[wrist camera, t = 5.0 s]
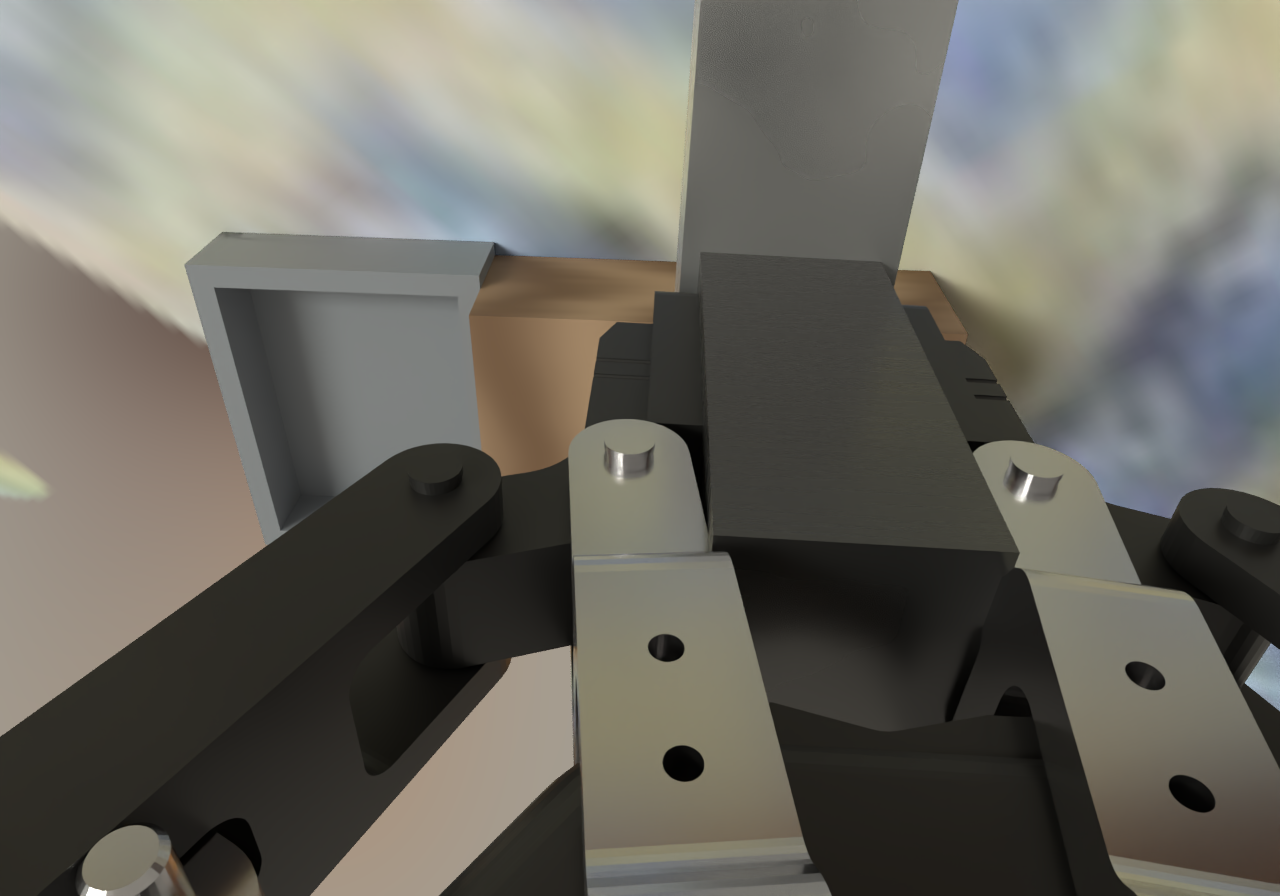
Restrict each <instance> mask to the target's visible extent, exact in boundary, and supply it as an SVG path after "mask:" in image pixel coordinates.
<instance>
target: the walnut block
mask: <svg viewBox="0 0 1280 896" xmlns="http://www.w3.org/2000/svg"><path fill="white" fill-rule="evenodd" d="M676 264H677V262H665V261H638V260H611V259H584V258H557V257H530V256H503V255H495V256H494V259H493V261H492V263H491V266H490V268H489V270H488V272H487V275H486V277H485V279H484V282H483V284H482V286H481V288H480V291H479V293H478V295H477V298H476V300H475V302H474V305H473V307H472V309H471V311H470V314H469V323H470V334H471V344H472V355H473V366H474V376H475V387H476V397H477V408H478V418H479V429H480V439H481V450H482V451H483V452H485V453H486V454H488V455H489V456H490V457H492V458H493V459H494V460H495V462H496V463H497V465H498V466H499V468H500V472H501V476H507V475H513V474H520V473H526V472H531V471H536V470H540V469H544V468H547V467H550V466H552V465H554V464H557V463H559V462H561V461H562V460H564V459H566V458H567V457H568V452H569V446H570V444H571V441H572V440H573V439H574V437H575V436H576V435H577V434H579V433H580V432H581V431H582V430H584V429H585V424H586V417H587V411H588V405H589V399H590V393H591V387H592V381H593V377H594V369H595V363H596V357H597V350H598V344H599V338H600V337H601V336H602V335H603V334H604V333H605V332H607V331H608V330H609V329H610V328H611V327H612V326H613V325H614V324H615V323H616V322H627V323H645V324H653V311H654V294H655V291H665V292H675V279H676ZM894 289H895V292H896V294H897V296H898V298H899V300H900V302H901V304H902V305H916V306H926V307H927V308H928V309H929V311H930V313H931V315H932V317H933V318H934V320H935V322H936V324H937V326H938V328H939V330H940V332H941V334H942V335H943V337H944V339H945V340H949V341H961V342H962V343H963V344H966V340H967V336H968V334H967V332H966V330H965V329H964V327H963V325H962V324H961V322H960V320H959V319H958V317H957V315H956V314H955V312H954V310H953V309H952V307H951V305H950V304H949V302H948V300H947V299H946V297H945V295H944V294H943V292H942V290H941V289H940V287H939V285H938V284H937V282H936V280H935V279H934V277H933V275H932V274H931V272H930V271H908V270H898V271H897V276H896V280H895V285H894Z"/></svg>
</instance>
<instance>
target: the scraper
mask: <svg viewBox="0 0 1280 896" xmlns="http://www.w3.org/2000/svg"><path fill="white" fill-rule="evenodd" d="M957 5H958V0H695V5H694V20H693V34H692V48H691V63H690V77H689V92H688V106H687V120H686V135H685V149H684V164H683V178H682V192H681V207H680V221H679V236H678V250H677V264H676V279H675V292H683V293H698V298H699V325H700V352H701V379H702V406H703V433H702V443H701V453H700V463H699V473H698V483H697V487H698V491H699V496H700V500H701V504H702V509H703V513H704V517H705V522H706V526H707V530H708V534H709V551H726V552H728V554H729V556H730V558H731V560H732V564H733V567H734V571H735V575H736V578H737V582H738V586H739V590H740V594H741V598H742V602H743V606H744V610H745V614H746V617H747V621H748V625H749V629H750V633H751V637H752V641H753V645H754V649H755V652H756V656H757V660H758V664H759V668H760V672H761V676H762V680H763V684H764V688H765V691H766V695H767V699H768V702H773V703H777V704H780V705H784V706H788V707H792V708H795V709H799V710H803V711H806V712H810V713H814V714H818V715H821V716H825V717H829V718H832V719H836V720H840V721H843V722H847V723H851V724H855V725H858V726H862V727H866V728H869V729H873V730H878V731H887V732H890V731H899V730H905V729H910V728H916V727H922V726H927V725H933V724H939V723H945V722H950V721H952V720H953V718H954V715H955V713H956V710H957V708H958V705H959V702H960V700H961V697H962V695H963V692H964V689H965V687H966V684H967V682H968V679H969V676H970V674H971V671H972V669H973V666H974V663H975V661H976V658H977V656H978V653H979V649H980V645H981V639H982V631H983V625H984V622H985V620H986V617H987V614H988V612H989V609H990V607H991V604H992V601H993V599H994V596H995V593H996V591H997V588H998V585H999V583H1000V580H1001V578H1002V576H1005V575H1007V574H1008V573H1009V572H1010V571H1011V570H1012V569H1014V567H1015V564H1016V562H1017V559H1018V557H1019V554H1020V552H1019V550H1018V547H1017V545H1016V543H1015V541H1014V539H1013V537H1012V535H1011V533H1010V531H1009V529H1008V526H1007V524H1006V522H1005V520H1004V518H1003V516H1002V514H1001V512H1000V510H999V508H998V506H997V503H996V501H995V499H994V497H993V495H992V493H991V491H990V489H989V487H988V485H987V482H986V480H985V478H984V476H983V474H982V472H981V470H980V468H979V466H978V464H977V461H976V459H975V457H974V455H973V453H972V451H971V449H970V447H969V445H968V443H967V440H966V438H965V436H964V434H963V432H962V430H961V428H960V426H959V424H958V422H957V420H956V417H955V415H954V413H953V411H952V409H951V407H950V405H949V403H948V401H947V399H946V396H945V394H944V392H943V390H942V388H941V386H940V384H939V382H938V380H937V378H936V375H935V373H934V371H933V369H932V367H931V365H930V363H929V361H928V359H927V357H926V354H925V352H924V350H923V348H922V346H921V344H920V342H919V340H918V338H917V336H916V333H915V331H914V329H913V327H912V325H911V323H910V321H909V319H908V317H907V315H906V313H905V310H904V308H903V306H902V304H901V302H900V300H899V298H898V296H897V294H896V292H895V289H894V285H895V280H896V276H897V271H898V267H899V263H900V258H901V254H902V249H903V245H904V240H905V236H906V232H907V227H908V223H909V218H910V214H911V209H912V205H913V200H914V196H915V192H916V187H917V183H918V178H919V174H920V169H921V165H922V160H923V156H924V152H925V147H926V143H927V138H928V134H929V129H930V125H931V120H932V116H933V112H934V107H935V103H936V98H937V94H938V89H939V85H940V80H941V76H942V72H943V67H944V63H945V58H946V54H947V49H948V45H949V40H950V36H951V32H952V27H953V23H954V18H955V14H956V9H957Z"/></svg>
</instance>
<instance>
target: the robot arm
mask: <svg viewBox="0 0 1280 896" xmlns="http://www.w3.org/2000/svg"><path fill="white" fill-rule="evenodd" d="M902 306H903V308H904V310H905V313H906V315H907V317H908V319H909V321H910V323H911V325H912V327H913V329H914V331H915V333H916V336H917V338H918V340H919V342H920V344H921V346H922V348H923V350H924V352H925V354H926V357H927V359H928V361H929V363H930V365H931V367H932V369H933V371H934V373H935V375H936V378H937V380H938V382H939V384H940V386H941V388H942V390H943V392H944V394H945V396H946V399H947V401H948V403H949V405H950V407H951V409H952V411H953V413H954V415H955V417H956V420H957V422H958V424H959V426H960V428H961V430H962V432H963V434H964V436H965V438H966V440H967V443H968V445H969V447H970V449H971V451H972V453H973V455H974V457H975V459H976V461H977V464H978V466H979V468H980V470H981V472H982V474H983V476H984V478H985V480H986V482H987V485H988V487H989V489H990V491H991V493H992V495H993V497H994V499H995V501H996V503H997V506H998V508H999V510H1000V512H1001V514H1002V516H1003V518H1004V520H1005V522H1006V524H1007V526H1008V529H1009V531H1010V533H1011V535H1012V537H1013V539H1014V541H1015V543H1016V545H1017V547H1018V550H1019V552H1020V554H1019V557H1018V559H1017V562H1016V564H1015V567H1014V569H1012V570H1011V571H1010V572H1009V573H1008V574H1007V575H1005V576H1002V578H1001V580H1000V583H999V585H998V588H997V591H996V593H995V596H994V599H993V601H992V604H991V607H990V609H989V612H988V614H987V617H986V620H985V622H984V625H983V631H982V639H981V645H980V649H979V653H978V656H977V658H976V661H975V663H974V666H973V669H972V671H971V674H970V676H969V679H968V682H967V684H966V687H965V689H964V692H963V695H962V697H961V700H960V702H959V705H958V708H957V710H956V713H955V715H954V718H953V720H952V721H950V722H945V723H939V724H933V725H927V726H922V727H916V728H910V729H905V730H899V731H890V732H887V731H878V730H873V729H869V728H866V727H862V726H858V725H855V724H851V723H847V722H843V721H840V720H836V719H832V718H829V717H825V716H821V715H818V714H814V713H810V712H806V711H803V710H799V709H795V708H792V707H788V706H784V705H780V704H777V703H773V702H768V699H767V695H766V691H765V688H764V684H763V680H762V676H761V672H760V668H759V664H758V660H757V656H756V652H755V649H754V645H753V641H752V637H751V633H750V629H749V625H748V621H747V617H746V614H745V610H744V606H743V602H742V598H741V594H740V590H739V586H738V582H737V578H736V575H735V571H734V567H733V564H732V560H731V558H730V556H729V554H728V552H726V551H709V534H708V530H707V526H706V522H705V517H704V513H703V509H702V504H701V500H700V496H699V491H698V487H697V483H698V473H699V463H700V453H701V443H702V433H703V406H702V379H701V352H700V325H699V298H698V293H683V292H665V291H655V294H654V311H653V324H645V323H627V322H616V323H615V324H614V325H613V326H612V327H611V328H610V329H609V330H608V331H607V332H605V333H604V334H603V335H602V336H601V337H600V338H599V344H598V350H597V357H596V363H595V369H594V377H593V381H592V387H591V393H590V399H589V405H588V411H587V417H586V424H585V429H584V430H582V431H581V432H580V433H579V434H577V435H576V436H575V437H574V439H573V440H572V441H571V444H570V446H569V452H568V457H567V458H566V459H564V460H562V461H561V462H559V463H557V464H554V465H552V466H550V467H547V468H544V469H540V470H536V471H531V472H526V473H520V474H513V475H507V476H501V472H500V468H499V466H498V465H497V463H496V462H495V460H494V459H493V458H492V457H490V456H489V455H488V454H486V453H485V452H483V451H481V450H478V449H476V448H473V447H470V446H466V445H461V444H452V443H435V444H427V445H422V446H417V447H413V448H410V449H407V450H404V451H402V452H400V453H398V454H396V455H394V456H392V457H391V458H389V459H387V460H386V461H385V462H383V463H382V464H380V465H379V466H378V467H376V468H375V469H373V470H372V471H371V472H369V473H368V474H366V475H365V476H364V477H362V478H361V479H359V480H358V481H357V482H355V483H354V484H352V485H351V486H350V487H348V488H347V489H345V490H344V491H343V492H341V493H340V494H339V495H337V496H336V497H334V498H333V499H332V500H330V501H329V502H327V503H326V504H325V505H323V506H322V507H320V508H319V509H318V510H316V511H315V512H313V513H312V514H311V515H309V516H308V517H306V518H305V519H304V520H302V521H301V522H299V523H298V524H297V525H295V526H294V527H292V528H291V529H290V530H288V531H287V532H285V533H284V534H283V535H281V536H280V537H279V538H277V539H276V540H274V541H273V542H272V543H270V544H269V545H267V546H266V547H265V548H263V549H262V550H260V551H259V552H258V553H256V554H255V555H253V556H252V557H251V558H249V559H248V560H246V561H245V562H244V563H242V564H241V565H239V566H238V567H237V568H235V569H234V570H233V571H231V572H230V573H228V574H227V575H225V576H224V577H223V578H221V579H220V580H219V581H218V582H216V583H214V584H213V585H212V586H210V587H209V588H207V589H206V590H205V591H203V592H202V593H200V594H199V595H198V596H196V597H195V598H193V599H192V600H191V601H189V602H188V603H186V604H185V605H184V606H182V607H181V608H179V609H178V610H177V611H175V612H174V613H173V614H171V615H170V616H168V617H167V618H165V619H164V620H163V621H161V622H160V623H159V624H157V625H156V626H154V627H153V628H152V629H150V630H149V631H147V632H146V633H145V634H143V635H142V636H140V637H139V638H138V639H136V640H135V641H133V642H132V643H131V644H129V645H128V646H126V647H125V648H124V649H122V650H121V651H120V652H118V653H117V654H116V655H114V656H113V657H111V658H110V659H108V660H107V661H105V662H104V663H103V664H101V665H100V666H98V667H97V668H96V669H95V670H93V671H92V672H90V673H89V674H87V675H86V676H85V677H83V678H82V679H80V680H79V681H78V682H76V683H75V684H73V685H72V686H71V687H69V688H68V689H66V690H65V691H64V692H62V693H61V694H60V695H58V696H57V697H55V698H54V699H52V700H51V701H50V702H48V703H47V704H45V705H44V706H43V707H41V708H40V709H39V710H37V711H36V712H34V713H33V714H32V715H30V716H29V717H27V718H26V719H25V720H23V721H22V722H20V723H19V724H18V725H16V726H15V727H13V728H12V729H11V730H9V731H8V732H6V733H5V734H4V735H2V736H1V737H0V896H310V895H311V894H312V893H313V892H314V890H315V889H316V888H317V887H318V886H319V885H320V883H321V882H322V881H323V880H324V879H325V878H326V877H327V875H328V874H329V873H330V872H331V871H332V870H333V869H334V867H335V866H336V865H337V864H338V863H339V862H340V860H341V859H342V858H343V857H344V856H345V855H346V854H347V853H348V852H349V851H350V849H351V848H352V847H353V846H354V845H355V844H356V842H357V841H358V840H359V839H360V838H361V837H362V836H363V835H364V833H365V832H366V831H367V830H368V829H369V828H370V827H371V825H372V824H373V823H374V822H375V821H376V820H377V819H378V817H379V816H380V815H381V814H382V813H383V812H384V811H385V810H386V808H387V807H388V806H389V805H390V804H391V803H392V801H393V800H394V799H395V798H396V797H397V796H398V795H399V793H400V792H401V791H402V790H403V789H404V788H405V787H406V786H407V784H408V783H409V782H410V781H411V780H412V779H413V778H414V776H415V775H416V774H417V773H418V772H419V771H420V770H421V768H422V767H423V766H424V765H425V764H426V763H427V762H428V761H429V759H430V758H431V757H432V756H433V755H434V754H435V753H436V751H437V750H438V749H439V748H440V747H441V746H442V745H443V743H444V742H445V741H446V740H447V739H448V738H449V737H450V735H451V734H452V733H453V732H454V731H455V730H456V728H458V726H459V725H460V724H461V723H462V722H463V721H464V720H465V718H466V717H467V716H468V715H469V714H470V713H471V712H472V710H473V709H474V708H475V707H476V706H477V705H478V704H479V702H480V701H481V700H482V699H483V698H484V697H485V696H486V695H487V693H488V692H489V691H490V690H491V689H492V688H493V687H494V685H495V684H496V683H497V682H498V681H499V679H501V677H502V676H503V674H504V673H505V672H506V671H507V669H508V667H509V664H510V661H511V658H512V657H517V656H522V655H526V654H531V653H536V652H541V651H546V650H550V649H554V648H560V647H564V646H569V645H570V654H571V685H572V686H571V688H572V721H573V755H574V756H573V758H574V766H573V767H572V768H570V769H569V770H568V771H566V772H565V773H564V774H562V775H561V776H560V777H558V778H557V779H556V780H555V781H554V782H553V783H552V784H551V785H549V786H548V788H546V789H545V790H544V791H543V792H542V793H541V794H540V795H539V796H538V797H537V798H536V799H535V800H534V801H533V802H532V803H531V804H530V805H529V806H528V807H527V808H526V809H525V810H524V811H523V812H522V813H521V814H520V815H519V816H518V817H517V818H516V819H515V820H514V821H513V822H512V823H511V824H510V825H509V826H508V827H507V828H506V829H505V830H504V831H503V832H502V833H501V834H500V835H499V836H498V837H497V838H496V839H495V840H494V841H493V842H492V843H491V844H490V845H489V846H488V847H487V848H486V849H485V850H484V851H483V852H482V853H481V854H480V855H479V856H478V857H477V858H476V859H475V860H474V861H473V862H472V863H471V864H470V865H469V866H468V867H467V868H466V869H465V870H464V871H463V872H462V873H461V874H460V875H459V876H458V877H457V878H456V879H455V880H454V881H453V882H452V883H451V884H450V885H449V886H448V887H447V888H446V889H445V890H444V891H443V892H442V893H441V894H440V895H439V896H1280V711H1279V710H1277V709H1276V708H1275V707H1274V706H1272V705H1271V704H1270V703H1269V702H1267V701H1266V700H1265V699H1264V698H1262V697H1261V696H1260V695H1259V694H1257V693H1256V692H1255V691H1254V690H1252V689H1251V688H1250V687H1249V686H1247V685H1246V684H1245V681H1246V680H1247V678H1248V677H1249V675H1250V674H1251V672H1252V671H1253V669H1254V668H1255V666H1256V665H1257V663H1258V662H1259V660H1260V659H1261V657H1262V656H1263V654H1264V653H1265V651H1266V650H1267V648H1268V647H1269V645H1270V644H1271V643H1272V644H1273V645H1274V646H1276V647H1277V648H1278V649H1280V506H1279V505H1277V504H1274V503H1272V502H1270V501H1268V500H1265V499H1262V498H1260V497H1257V496H1254V495H1251V494H1247V493H1244V492H1239V491H1235V490H1228V489H1220V488H1206V489H1199V490H1194V491H1192V492H1189V493H1187V494H1186V495H1185V496H1183V497H1182V499H1181V500H1180V502H1179V504H1178V506H1177V508H1176V510H1175V512H1174V514H1173V516H1172V518H1171V519H1169V518H1165V517H1161V516H1157V515H1153V514H1149V513H1145V512H1141V511H1136V510H1132V509H1128V508H1124V507H1120V506H1117V505H1113V504H1110V503H1107V502H1105V501H1104V498H1103V496H1102V494H1101V492H1100V489H1099V487H1098V485H1097V483H1096V481H1095V479H1094V477H1093V476H1092V475H1091V474H1090V473H1089V471H1088V470H1087V469H1085V468H1084V467H1083V466H1082V465H1081V464H1079V463H1078V462H1077V461H1075V460H1074V459H1072V458H1070V457H1068V456H1067V455H1065V454H1063V453H1061V452H1058V451H1056V450H1054V449H1051V448H1048V447H1045V446H1042V445H1038V444H1034V442H1033V441H1032V439H1031V437H1030V436H1029V434H1028V432H1027V430H1026V429H1025V427H1024V425H1023V424H1022V422H1021V420H1020V418H1019V417H1018V415H1017V413H1016V412H1015V410H1014V408H1013V407H1012V405H1011V403H1010V401H1006V397H1007V396H1006V395H1005V393H1004V391H1003V389H1002V388H1001V386H1000V384H997V383H996V382H997V379H996V378H995V376H994V374H993V372H992V371H991V369H990V367H989V366H988V364H987V362H986V360H985V359H984V358H982V357H981V356H979V355H978V354H977V353H975V352H974V351H973V350H971V349H970V348H969V347H967V346H966V345H965V344H963V343H962V342H961V341H949V340H945V339H944V337H943V335H942V334H941V332H940V330H939V328H938V326H937V324H936V322H935V320H934V318H933V317H932V315H931V313H930V311H929V309H928V308H927V307H926V306H916V305H902Z"/></svg>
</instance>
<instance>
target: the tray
mask: <svg viewBox="0 0 1280 896" xmlns="http://www.w3.org/2000/svg"><path fill="white" fill-rule="evenodd" d="M494 256H495V249H494V242H474V241H447V240H420V239H393V238H366V237H339V236H311V235H284V234H257V233H230V232H222V233H221V234H219V235H218V236H217V237H216V238H215V239H214V240H213V241H211V242H210V243H209V244H208V245H207V246H206V247H204V248H203V249H202V250H201V251H200V252H199V253H197V254H196V255H195V256H194V257H193V258H192V259H190V260H189V261H188V262H187V263H186V264H185V269H186V272H187V275H188V279H189V282H190V286H191V289H192V293H193V296H194V300H195V303H196V306H197V310H198V313H199V317H200V320H201V324H202V327H203V331H204V334H205V338H206V341H207V344H208V348H209V351H210V355H211V358H212V361H213V365H214V368H215V371H216V375H217V379H218V382H219V386H220V389H221V393H222V396H223V400H224V403H225V407H226V410H227V413H228V417H229V420H230V424H231V427H232V431H233V434H234V437H235V441H236V444H237V448H238V451H239V455H240V458H241V462H242V465H243V469H244V471H245V475H246V479H247V482H248V486H249V489H250V493H251V496H252V499H253V503H254V506H255V510H256V513H257V517H258V520H259V524H260V527H261V531H262V534H263V538H264V541H265V544H267V545H269V544H270V543H272V542H273V541H274V540H276V539H277V538H279V537H280V536H281V535H283V534H284V533H285V532H287V531H288V530H290V529H291V528H292V527H294V526H295V525H297V524H298V523H299V522H301V521H302V520H304V519H305V518H306V517H308V516H309V515H311V514H312V513H313V512H315V511H316V510H318V509H319V508H320V507H322V506H323V505H325V504H326V503H327V502H329V501H330V500H332V499H333V498H334V497H336V496H337V495H339V494H340V493H341V492H343V491H344V490H345V489H347V488H348V487H350V486H351V485H352V484H354V483H355V482H357V481H358V480H359V479H361V478H362V477H364V476H365V475H366V474H368V473H369V472H371V471H372V470H373V469H375V468H376V467H378V466H379V465H380V464H382V463H383V462H385V461H386V460H387V459H389V458H391V457H392V456H394V455H396V454H398V453H400V452H402V451H404V450H407V449H410V448H413V447H417V446H422V445H427V444H435V443H452V444H461V445H466V446H470V447H473V448H476V449H478V450H481V439H480V429H479V418H478V408H477V397H476V387H475V376H474V366H473V355H472V344H471V334H470V323H469V314H470V311H471V309H472V307H473V305H474V302H475V300H476V298H477V295H478V293H479V291H480V288H481V286H482V284H483V282H484V279H485V277H486V275H487V272H488V270H489V268H490V266H491V263H492V261H493V259H494ZM481 451H482V450H481Z"/></svg>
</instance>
